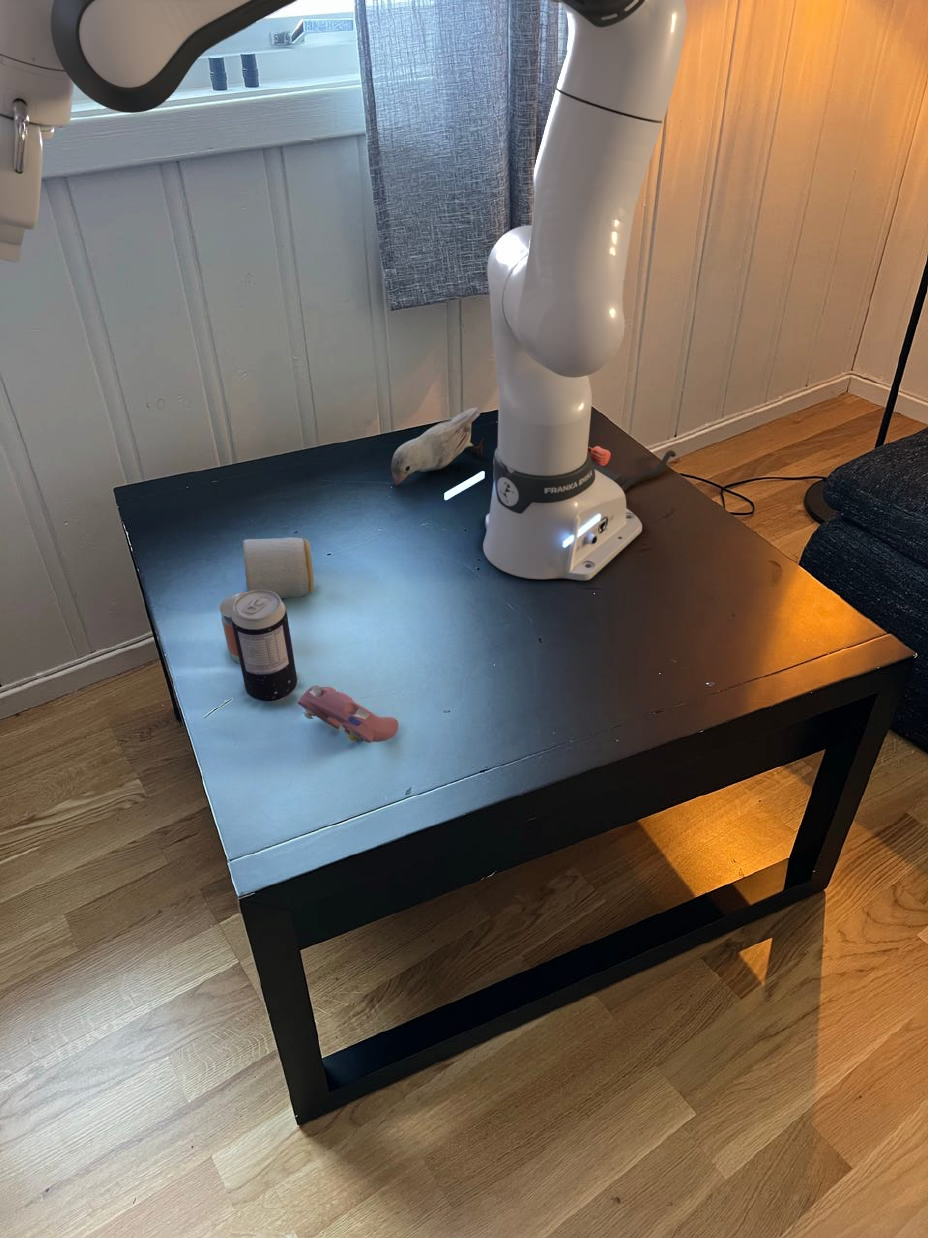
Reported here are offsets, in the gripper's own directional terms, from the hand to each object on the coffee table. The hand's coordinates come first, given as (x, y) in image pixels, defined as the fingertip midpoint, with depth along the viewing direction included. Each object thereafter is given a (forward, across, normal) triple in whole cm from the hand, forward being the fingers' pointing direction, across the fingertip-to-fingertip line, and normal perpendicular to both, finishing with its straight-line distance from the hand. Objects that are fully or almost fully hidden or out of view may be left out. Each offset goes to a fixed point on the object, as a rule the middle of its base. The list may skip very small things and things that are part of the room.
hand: (7, 240), depth 90 cm
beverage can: (+33, -29, -28) cm, 52 cm away
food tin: (+34, -22, -27) cm, 48 cm away
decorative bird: (+24, +10, -60) cm, 66 cm away
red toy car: (+30, -38, -34) cm, 59 cm away
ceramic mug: (+33, -10, -33) cm, 47 cm away
